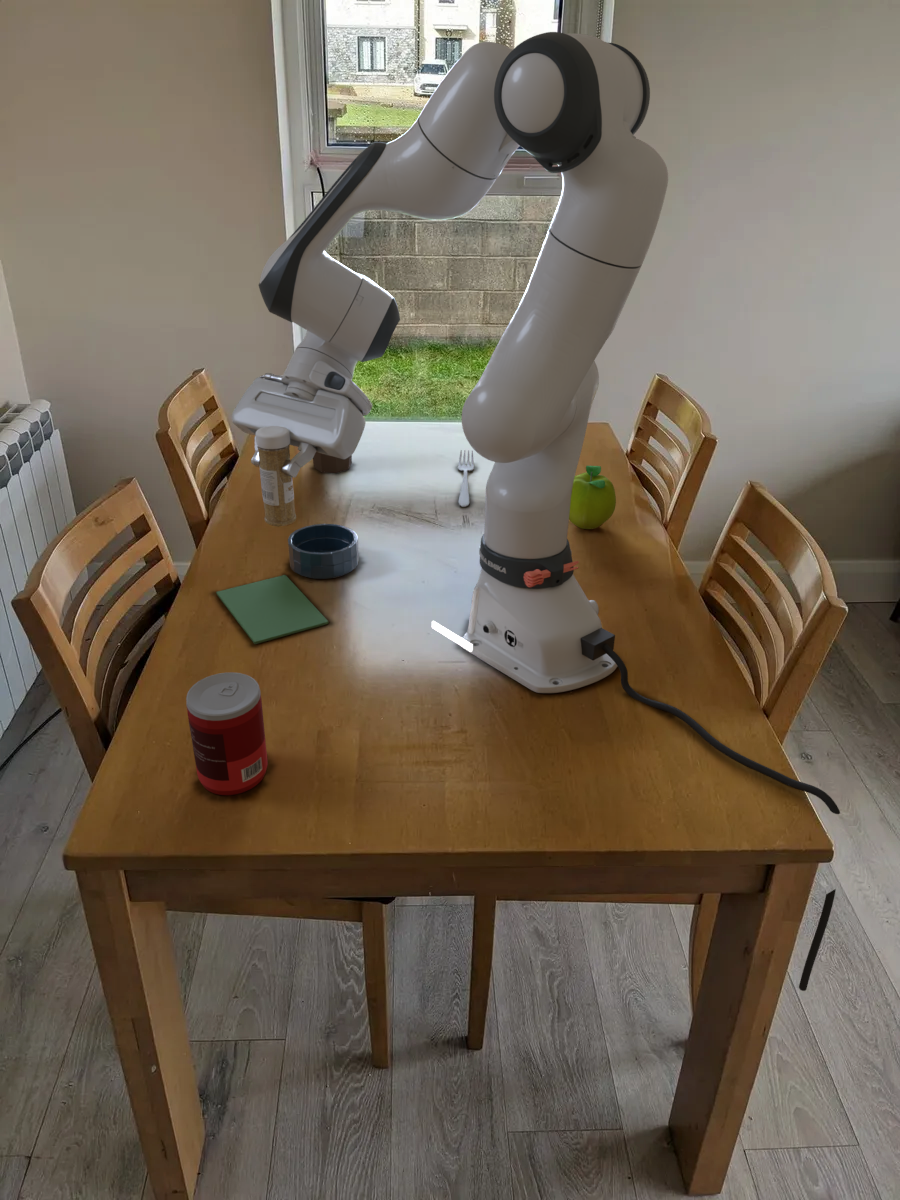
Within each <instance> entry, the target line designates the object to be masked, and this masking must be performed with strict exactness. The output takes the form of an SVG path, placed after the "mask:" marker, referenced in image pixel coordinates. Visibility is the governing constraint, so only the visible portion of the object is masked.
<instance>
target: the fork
mask: <svg viewBox="0 0 900 1200" xmlns="http://www.w3.org/2000/svg"><path fill="white" fill-rule="evenodd" d="M462 455H463V456H462ZM462 457H463V458H462ZM470 458H471V459H470ZM470 460H471V462H470ZM470 463H471V464H470ZM474 469H475V463H474V450H471V454H470V450H467V461H466V449H465V450H464V451H463V450H462V449H460V452H459V458H458V464H457V470H459V471H460V472H463V478H462V482H461V487H460V492H459V496H458V497H459V498H458V505H459V506H460V507H462V508H466V507H468V506H469V504H470V492H469V483H468V482H469V481H468V472H471V471H472V472H473V471H474Z"/></svg>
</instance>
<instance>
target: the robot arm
mask: <svg viewBox="0 0 900 1200" xmlns="http://www.w3.org/2000/svg"><path fill="white" fill-rule="evenodd" d="M650 87H651V86H650V81H649V77H648V74H647V72H646V70H645V68H644V65H643V64H642V62H641V61H640V60H639V59H638V57H636V56H635V55H634V54H633V53H632V52H631V51H630V50H629V49H627V48H626V47H624V46H622V45H620V44H617V43H613V42H607V41H604V40H602V39H601V38H600V37H597V36H594V35H592V34H591V35H590V34H585V33H576V32H575V33H573V32H572V33H569V32H568V33H564V32H560V31H548V32H542V33H539V34H536V35H533V36H531V37H529V38H527V39H524V40H523V41H522V42H520V43H519V44H517V45H516V46H515V47H514V48H513V49H512V48H510V47H509V46H507V45H505V44H502V43H499V42H493V41H481V42H478V43H476V44H473V45H472V46H469V48H468V49H467V50H466V51H464V52H463V54H462V55H461V56H460V58H458V59H457V61H456V62H455V63H454V65H452V67H451V68H450V69H449V71H448V72H447V73H446V74H445V75H444V77H443V78H442V80H441V81H440V82H439V84H438V85H437V86H436V88H435V90H434V91H433V93H432V94H431V95H430V97H429V99H428V100H427V102H426V103H425V105H424V106H423V109H422V110H421V112H420V114H419V115H418V117H417V119H416V120H415V122H414V123H413V124H412V126H411V127H410V128H408V130H407V131H406V132H405V133H403V134H402V135H400V136H398V137H397V138H396V139H393V140H392V141H389V142H381V141H379V142H378V141H374V142H372V143H371V144H370V145H368V146H367V147H366V148H364V149H363V150H362V151H361V152H360V153H359V154H358V155H357V156H356V157H355V158H354V160H353V161H352V162H351V163H350V164H349V165H348V166H347V167H346V169H345V170H344V171H343V172H342V173H341V175H340V176H338V178H337V179H336V180H335V182H334V183H333V184H332V186H330V188H329V189H327V191H326V193H325V194H324V195H323V196H322V198H321V199H320V200H319V201H318V203H316V205H315V206H314V208H313V209H312V210H311V211H310V212H309V214H308V215H307V216H306V217H305V219H304V220H303V221H302V222H301V223H300V225H299V226H298V227H297V228H296V229H295V231H293V233H292V234H291V235H290V236H289V237H288V238H287V240H284V242H283V243H282V244H280V245H279V246H277V248H276V249H275V250H274V251H273V252H272V254H270V256H269V258H268V259H267V260H266V262H265V264H264V266H263V268H262V271H261V274H260V278H259V283H258V288H259V292H260V295H261V298H262V300H263V302H264V304H265V306H266V309H267V311H268V312H269V313H270V314H273V315H275V316H276V317H279V318H281V319H283V320H285V321H287V322H289V323H294V324H295V325H297V326H299V327H300V328H302V329H304V330H306V333H305V336H304V338H303V339H302V340H301V342H299V343H298V345H297V346H296V347H295V349H294V352H293V353H292V356H291V357H290V359H289V362H288V364H287V366H286V368H285V370H284V371H283V374H282V375H280V374H279V375H277V374H275V373H272V372H266V373H264V374H262V375H260V376H257V377H256V378H254V380H253V381H252V383H251V384H250V385H249V386H248V388H247V389H246V390H245V392H244V393H243V394H242V396H241V398H240V399H239V400H238V402H237V404H236V405H235V407H234V409H233V411H232V413H231V421H232V424H233V425H234V426H235V427H237V428H238V429H239V430H240V431H241V432H243V433H245V434H247V435H248V434H249V435H252V436H254V451H255V452H254V453H253V455H252V458H251V460H250V462H251V464H252V465H253V466H254V467H256V468H259V469H260V467H259V466H260V462H259V452H258V448H257V445H256V431H257V430H258V429H260V428H263V427H268V426H281V427H285V428H287V429H288V430H289V434H290V446H293V447H296V448H297V450H298V452H297V453H296V455H294V456H293V457H292V458H290V460H287V459H286V461H285V463H284V466H283V467H282V472H283V473H284V474H285V475H287V476H291V477H292V478H293V479H294V478H297V477H298V474H299V472H300V470H301V468H303V467H304V466H305V465H307V463H309V462H310V461H313V457H314V455H315V453H316V452H318V453H322V454H326V455H330V456H333V457H337V458H341V459H346V458H348V457H349V456H351V455H352V456H353V455H354V453H355V452H356V449H357V448H358V445H359V443H360V441H361V438H362V436H363V433H364V430H365V427H366V417H365V416H367V415H369V414H370V412H371V410H372V408H373V403H372V401H371V400H370V399H369V397H368V396H367V395H366V394H365V392H364V391H363V390H362V389H361V388H360V387H359V386H358V385H357V384H356V383H355V381H353V378H354V375H355V370H356V367H357V364H358V362H361V363H365V362H369V361H372V360H375V359H379V358H381V357H383V356H384V355H385V353H386V351H387V348H388V346H389V344H390V342H391V339H392V337H393V334H394V333H395V330H396V328H397V326H398V324H399V323H400V321H401V316H400V311H399V307H398V303H397V301H396V299H395V296H393V295H391V293H389V292H388V291H387V290H385V289H384V288H383V287H381V286H379V285H378V284H377V283H376V282H375V281H374V279H373V280H372V279H371V278H370V277H369V276H366V275H365V274H362V273H359V272H355V271H354V270H352V269H351V268H349V267H347V266H346V265H344V264H343V263H341V262H340V261H338V260H336V259H334V258H333V257H332V256H330V255H329V254H328V253H327V252H326V249H327V248H328V247H329V246H330V245H331V243H333V242H334V240H335V239H336V238H337V237H338V235H339V234H340V233H341V232H342V231H343V229H344V228H345V227H346V226H347V225H348V223H350V221H351V220H353V218H355V216H357V215H358V214H361V213H363V212H367V211H384V212H385V211H386V212H392V213H397V214H403V215H407V216H410V217H413V218H417V219H422V220H429V221H446V220H447V221H448V220H453V219H456V218H459V217H462V216H464V215H466V214H468V213H470V212H471V211H473V209H474V208H475V207H477V205H478V204H479V203H480V202H481V201H482V200H483V199H484V197H485V196H486V195H487V194H488V192H489V191H490V190H491V188H492V187H493V186H494V184H495V182H496V181H497V179H498V178H499V177H500V175H501V173H502V172H503V170H504V168H505V167H506V165H507V164H508V162H509V161H510V159H511V158H512V156H513V155H514V154H515V152H516V151H517V150H518V148H519V147H520V148H522V149H523V150H525V152H527V153H528V154H530V156H532V158H533V159H534V160H536V162H537V163H538V164H539V165H541V167H542V168H543V169H545V171H546V172H548V173H550V174H561V177H562V189H561V194H560V198H559V201H558V204H557V206H556V210H555V212H554V214H553V217H552V219H551V223H550V225H549V228H548V230H547V233H546V236H545V239H544V240H543V243H542V247H541V249H540V252H539V255H538V257H537V260H536V262H535V266H534V268H533V270H532V273H531V276H530V279H529V282H528V284H527V287H526V288H525V291H524V293H523V295H522V297H521V300H520V301H519V304H518V306H517V308H516V309H515V312H514V313H513V316H512V317H511V319H510V321H509V322H508V324H507V326H506V328H505V330H504V332H503V333H502V335H501V337H500V339H499V341H498V343H497V345H496V346H495V349H494V350H493V352H492V354H491V356H490V358H489V360H488V362H487V365H486V366H485V369H484V371H483V372H482V374H481V376H480V378H479V379H478V381H477V383H476V384H475V386H474V387H473V388H472V390H471V391H470V393H469V394H468V396H467V397H466V398H465V401H464V404H463V406H462V411H461V427H462V432H463V434H464V436H465V438H466V441H467V442H468V444H469V446H470V447H471V448H472V449H473V451H474V452H476V453H477V454H478V455H480V456H481V457H482V458H484V459H485V460H488V461H490V462H493V466H492V468H491V470H490V472H489V475H488V478H487V481H486V484H485V497H484V498H485V501H484V502H485V504H484V523H483V525H484V526H483V534H482V536H481V537H480V545H479V547H478V549H479V550H478V554H479V565H480V567H481V570H480V573H479V575H478V579H477V581H476V583H475V585H474V588H473V591H472V595H471V596H472V598H471V604H470V610H469V618H468V627H467V631H466V632H465V633H464V635H463V636H460V635H458V634H456V633H455V632H453V631H451V630H450V629H449V628H446V627H445V626H443V625H441V624H440V623H439V622H436V621H435V620H432V621H431V628H432V629H433V630H435V631H436V632H438V633H440V634H441V635H443V636H444V637H446V638H447V639H449V640H451V641H452V642H454V643H455V644H457V645H459V646H460V647H461V648H462V649H463V650H464V651H466V652H468V653H469V654H471V655H473V656H474V657H476V658H478V659H479V660H481V661H482V662H484V663H486V664H487V665H489V666H491V667H493V669H495V670H497V671H499V672H501V673H502V674H504V675H506V676H507V677H509V678H511V679H512V680H514V681H515V682H517V683H519V684H520V685H522V686H524V687H526V688H527V689H529V690H530V691H532V692H534V693H537V694H557V693H564V692H569V691H572V690H573V691H574V690H578V689H580V688H583V687H586V686H589V685H592V684H594V683H597V682H599V681H601V680H603V679H605V678H606V677H608V676H610V675H611V674H612V673H613V672H615V670H616V669H617V668H618V669H619V672H620V684H621V687H622V689H623V690H624V691H625V693H626V694H627V695H628V696H630V697H631V698H632V699H634V700H636V701H639V702H641V703H643V704H645V705H648V706H650V707H653V708H654V709H657V710H660V711H664V712H666V713H669V714H672V715H673V716H675V717H677V718H678V719H680V720H681V721H683V723H685V724H687V725H688V726H689V727H690V728H691V729H692V730H694V731H695V732H696V733H697V734H698V736H699V737H701V738H702V739H703V740H704V741H705V742H706V743H707V744H709V745H710V746H712V747H713V748H714V749H716V750H717V751H718V752H720V753H722V754H723V755H724V756H726V757H728V758H730V759H732V760H734V761H735V762H737V763H739V764H741V765H743V766H745V767H747V768H750V769H752V770H754V771H755V772H758V773H760V774H763V775H764V776H767V777H768V778H771V779H773V780H775V781H777V782H779V783H781V784H783V785H785V786H788V787H790V788H793V789H795V790H798V791H801V792H805V793H807V794H810V795H813V796H815V797H817V798H818V799H819V800H821V801H822V802H823V803H824V804H825V805H826V807H827V808H828V809H829V811H830V812H831V813H832V814H835V815H840V814H841V811H840V808H839V807H838V805H837V804H836V802H835V801H834V799H833V798H832V797H831V796H830V795H829V794H828V793H827V792H825V791H824V790H822V789H821V788H819V787H817V786H815V785H812V784H809V783H805V782H803V781H799V780H796V779H793V778H791V777H789V776H787V775H785V774H783V773H780V772H778V771H777V770H774V769H772V768H770V767H768V766H766V765H763V764H761V763H759V762H757V761H755V760H752V759H750V758H749V757H746V756H744V755H742V754H740V753H738V752H737V751H735V750H733V749H732V748H729V747H728V746H727V745H726V744H724V743H722V742H720V741H719V740H717V739H716V738H715V737H714V736H712V734H710V733H709V732H708V731H707V730H706V729H705V728H703V727H702V725H701V724H700V723H699V722H697V721H696V720H695V719H693V718H692V717H691V716H690V715H688V714H687V713H686V712H684V711H682V709H681V710H680V709H679V708H677V707H675V706H673V705H671V704H668V703H664V702H661V701H658V700H653V699H651V698H647V697H645V696H643V695H641V694H640V693H638V692H636V690H634V688H633V687H632V686H631V685H630V683H629V674H628V669H627V666H626V664H625V662H624V661H623V659H622V658H621V656H619V655H618V653H616V651H615V650H614V648H615V640H616V635H615V634H614V633H613V632H610V631H608V630H606V629H604V628H603V625H602V620H601V618H600V616H599V611H600V609H599V605H598V603H597V601H596V600H594V599H590V600H589V598H588V597H587V595H586V593H585V592H584V590H583V588H582V587H581V585H580V583H579V582H578V580H577V578H576V576H575V574H574V571H575V570H577V569H579V567H578V566H577V565H578V564H579V563H580V561H578V560H575V561H573V556H572V555H573V554H572V549H571V545H570V541H569V539H568V535H569V534H568V533H569V532H568V531H569V522H570V520H569V513H570V502H571V493H572V487H573V482H574V477H575V476H576V473H577V469H578V465H579V461H580V457H581V453H582V450H583V445H584V441H585V437H586V433H587V428H588V423H589V418H590V414H591V410H592V407H593V403H594V400H595V398H596V395H597V392H598V389H599V385H600V374H599V369H598V366H597V363H596V361H595V360H596V358H597V357H598V355H599V353H600V352H601V350H602V348H603V347H604V345H605V344H606V342H607V341H608V339H609V338H610V336H611V335H612V333H613V331H614V330H615V328H616V326H617V322H618V320H619V318H620V315H621V313H622V311H623V309H624V307H625V305H626V303H627V300H628V298H629V296H630V294H631V291H632V289H633V286H634V285H635V282H636V280H637V278H638V275H639V273H640V270H641V269H642V266H643V263H644V262H645V259H646V256H647V253H648V251H649V249H650V246H651V244H652V241H653V238H654V235H655V232H656V230H657V227H658V224H659V220H660V216H661V213H662V209H663V205H664V202H665V198H666V194H667V190H668V185H669V172H668V171H669V170H668V166H667V164H666V163H665V160H664V158H663V157H662V156H661V154H660V153H659V152H658V151H657V150H656V149H655V148H654V147H652V146H651V145H650V144H649V143H646V142H645V141H643V140H641V139H640V138H637V137H636V136H635V134H636V133H637V131H638V130H639V129H640V127H641V126H642V125H643V123H644V121H645V118H646V116H647V114H648V110H649V106H650V102H651V101H650V99H651V88H650ZM836 891H837V889H836V888H835V889H833V890H831V891H830V892H827V893H826V894H825V896H824V897H825V898H824V901H823V906H822V910H821V914H820V917H819V920H818V924H817V927H816V929H815V933H814V935H813V939H812V940H811V945H810V947H809V950H808V954H807V957H806V959H805V962H804V966H803V969H802V973H801V975H800V981H799V985H798V989H799V990H800V991H802V992H805V991H807V989H808V985H809V981H810V977H811V974H812V971H813V967H814V964H815V962H816V958H817V955H818V953H819V949H820V946H821V943H822V941H823V938H824V935H825V932H826V929H827V926H828V923H829V919H830V916H831V912H832V909H833V908H832V907H833V906H834V900H835V896H836Z"/></svg>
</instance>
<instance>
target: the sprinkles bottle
mask: <svg viewBox="0 0 900 1200" xmlns="http://www.w3.org/2000/svg"><path fill="white" fill-rule="evenodd" d="M256 445H257V448H258V452H259V462H260V466H259V467H260V468H259V467H258V468H259V475H260V476H259V477H260V486H261V494H262V495H261V496H262V501H263V509H264V517H263V519H264V522H265V523H266V524H267V525H269V526H273V527H285V526H289V525H291V524H294V523H295V522H296V519H297V515H296V509H295V507H296V506H295V493H294V483H293V482H294V481H293V477H291V476H287V475H285V474H284V473H283V472H282V467H283V466H284V463H285V461H286V459H287V460H291V453H290V452H291V451H290V450H291V449H290V446H291V445H290V434H289V430H288V429H287V428H285V427H281V426H268V427H263V428H260V429H258V430H257V431H256Z"/></svg>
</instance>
